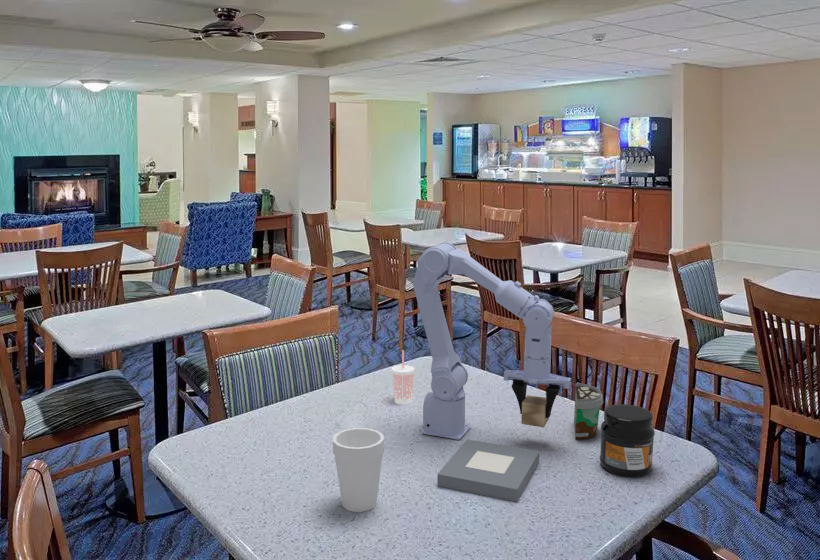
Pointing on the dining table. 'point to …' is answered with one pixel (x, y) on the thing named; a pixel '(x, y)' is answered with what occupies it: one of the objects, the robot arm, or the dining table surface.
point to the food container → (586, 411)
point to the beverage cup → (403, 382)
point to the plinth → (489, 470)
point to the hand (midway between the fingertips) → (535, 414)
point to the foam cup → (358, 466)
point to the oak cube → (534, 411)
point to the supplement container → (627, 440)
